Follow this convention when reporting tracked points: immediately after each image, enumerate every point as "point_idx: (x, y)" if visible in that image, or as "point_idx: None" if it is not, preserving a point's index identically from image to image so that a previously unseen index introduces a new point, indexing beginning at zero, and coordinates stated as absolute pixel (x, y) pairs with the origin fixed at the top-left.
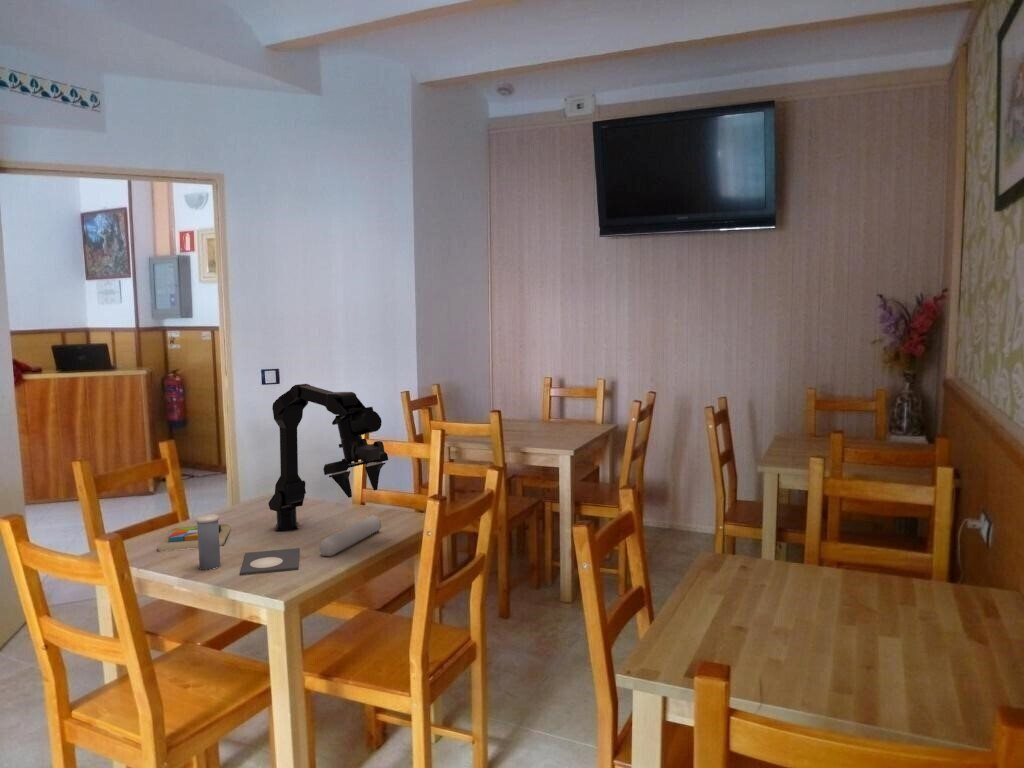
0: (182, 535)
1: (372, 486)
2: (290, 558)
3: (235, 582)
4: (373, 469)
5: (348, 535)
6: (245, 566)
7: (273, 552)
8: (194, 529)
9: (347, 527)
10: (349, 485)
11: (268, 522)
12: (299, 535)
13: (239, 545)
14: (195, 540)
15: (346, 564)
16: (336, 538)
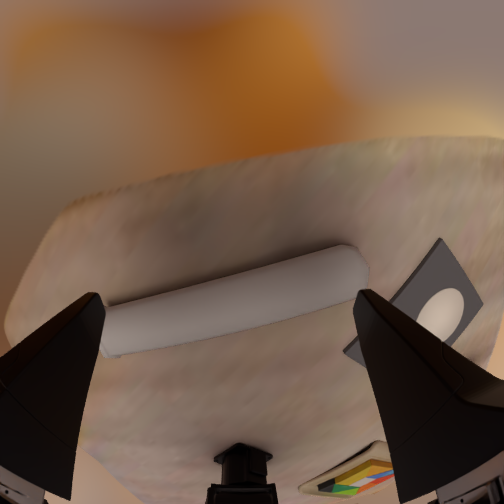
0: (391, 471)
1: (98, 340)
2: (408, 305)
3: (499, 276)
4: (17, 432)
5: (264, 282)
6: (461, 327)
7: None
8: (355, 487)
9: (226, 330)
10: (417, 344)
11: None
12: (261, 421)
13: (363, 433)
14: (387, 460)
15: (365, 160)
16: (326, 275)
